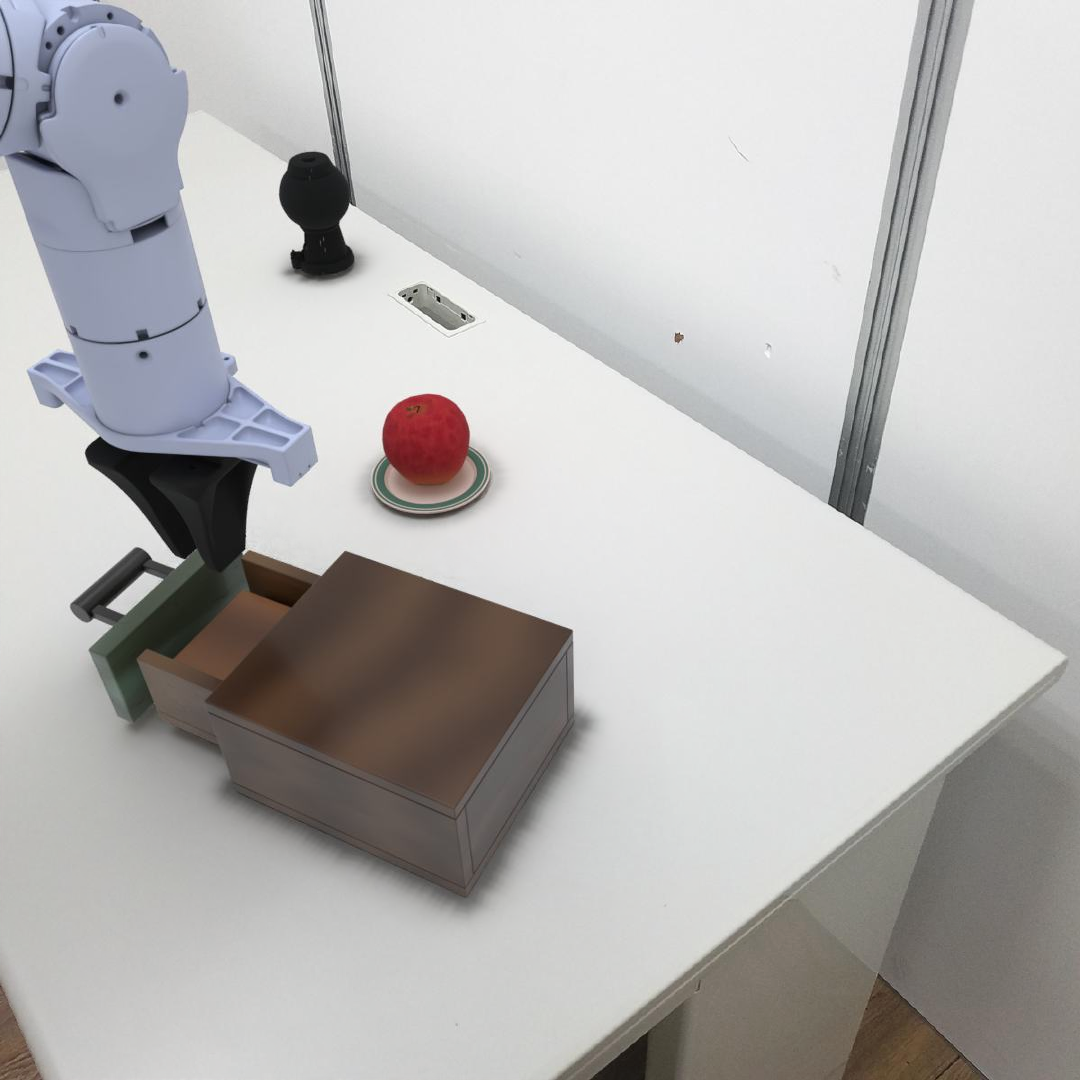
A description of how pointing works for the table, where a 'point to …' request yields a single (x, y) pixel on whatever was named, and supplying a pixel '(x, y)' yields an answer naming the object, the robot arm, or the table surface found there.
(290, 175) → the gumball machine
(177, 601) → the drawer
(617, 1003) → the table surface
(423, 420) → the red apple on plate
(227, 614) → the brown rectangular block
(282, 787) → the cabinet
